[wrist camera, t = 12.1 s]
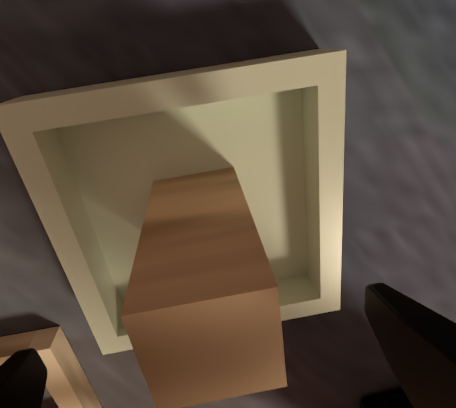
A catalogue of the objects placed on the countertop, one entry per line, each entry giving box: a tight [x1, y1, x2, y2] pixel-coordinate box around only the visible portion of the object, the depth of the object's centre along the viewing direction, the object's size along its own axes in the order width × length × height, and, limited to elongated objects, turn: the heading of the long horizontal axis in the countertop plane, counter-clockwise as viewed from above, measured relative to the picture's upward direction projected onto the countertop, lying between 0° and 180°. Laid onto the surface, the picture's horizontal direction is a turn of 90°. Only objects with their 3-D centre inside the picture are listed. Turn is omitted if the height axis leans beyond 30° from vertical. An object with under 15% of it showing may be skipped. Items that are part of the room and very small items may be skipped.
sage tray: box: [0, 49, 346, 355], centre depth 15 cm, size 12×12×2 cm
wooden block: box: [120, 167, 287, 408], centre depth 12 cm, size 4×4×8 cm
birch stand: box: [0, 326, 102, 408], centre depth 19 cm, size 8×8×2 cm
